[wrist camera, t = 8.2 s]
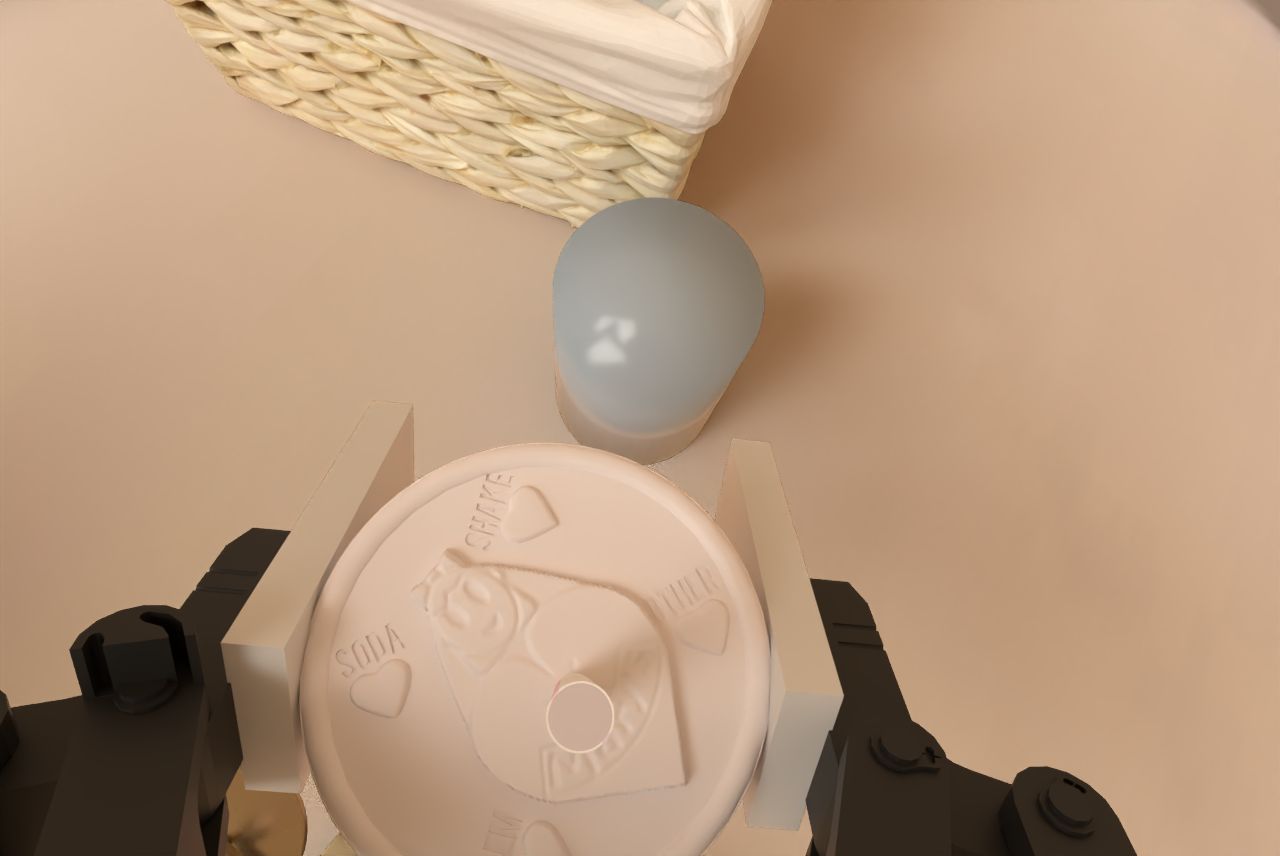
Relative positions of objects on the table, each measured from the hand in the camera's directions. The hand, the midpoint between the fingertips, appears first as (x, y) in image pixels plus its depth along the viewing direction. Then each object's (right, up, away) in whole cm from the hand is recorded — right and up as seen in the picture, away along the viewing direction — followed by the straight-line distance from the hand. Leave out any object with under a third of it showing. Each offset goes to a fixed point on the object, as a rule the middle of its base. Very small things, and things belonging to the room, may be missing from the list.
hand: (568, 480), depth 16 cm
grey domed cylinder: (+1, +3, +20) cm, 20 cm away
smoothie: (-1, -5, +4) cm, 6 cm away
